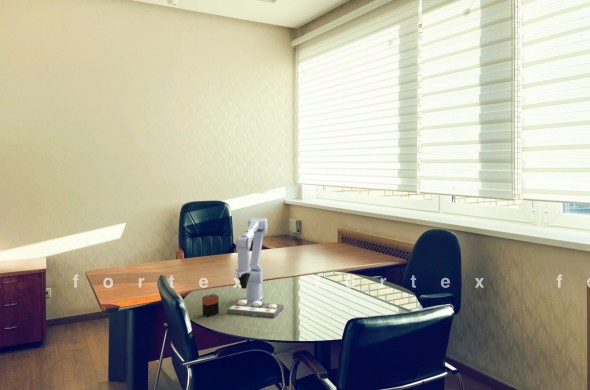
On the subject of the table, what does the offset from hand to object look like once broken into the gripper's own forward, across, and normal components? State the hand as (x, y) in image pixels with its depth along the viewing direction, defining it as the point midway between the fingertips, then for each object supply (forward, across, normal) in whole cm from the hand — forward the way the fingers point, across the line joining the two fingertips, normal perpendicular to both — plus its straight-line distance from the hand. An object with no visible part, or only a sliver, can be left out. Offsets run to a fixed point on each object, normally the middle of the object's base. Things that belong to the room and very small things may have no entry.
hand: (243, 288), depth 238 cm
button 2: (+9, 0, +7) cm, 11 cm away
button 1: (+9, 0, -1) cm, 9 cm away
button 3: (+10, 0, +15) cm, 18 cm away
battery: (+11, +12, -12) cm, 20 cm away
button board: (+10, +2, +7) cm, 13 cm away
